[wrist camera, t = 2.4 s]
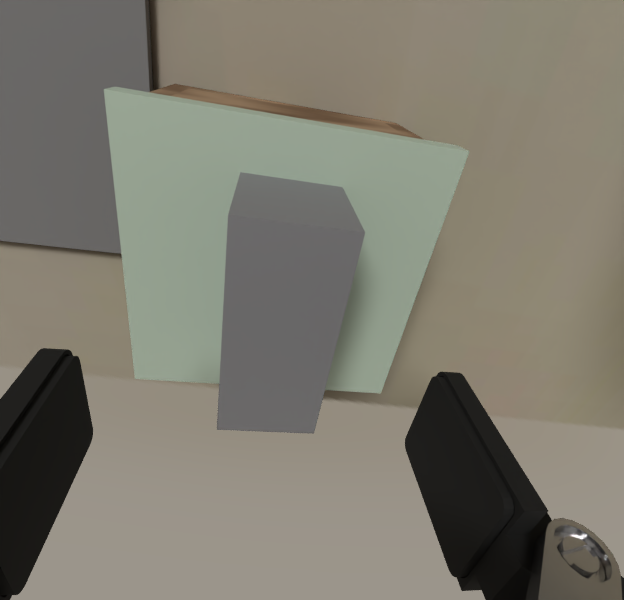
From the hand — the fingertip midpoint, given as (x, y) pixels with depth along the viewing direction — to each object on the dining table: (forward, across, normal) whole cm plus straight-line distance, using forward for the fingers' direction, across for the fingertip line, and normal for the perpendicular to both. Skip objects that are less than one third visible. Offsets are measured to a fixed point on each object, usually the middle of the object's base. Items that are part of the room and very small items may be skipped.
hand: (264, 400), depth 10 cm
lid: (+8, -1, -1) cm, 8 cm away
